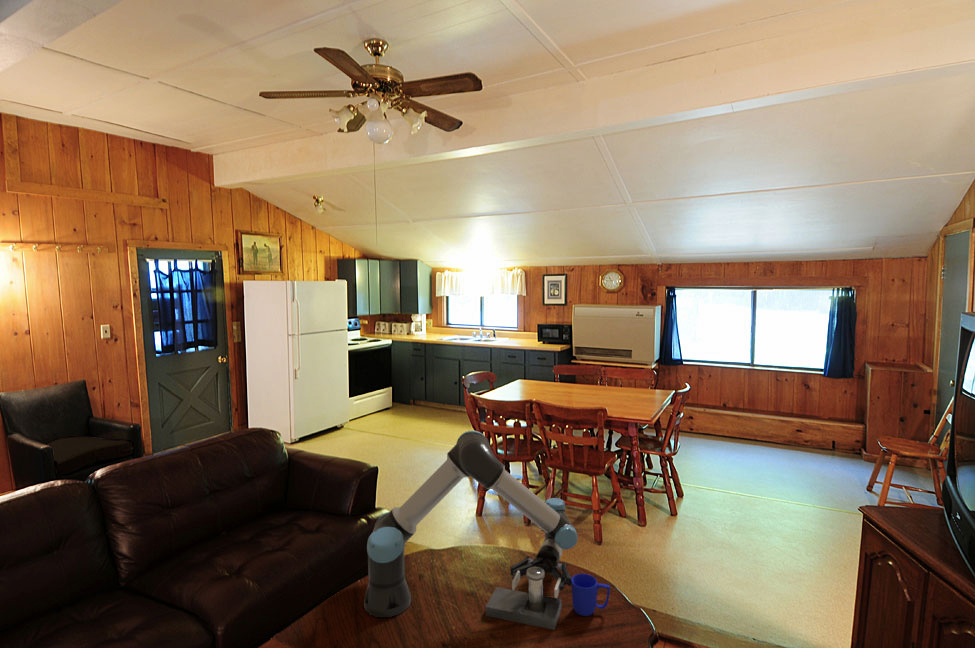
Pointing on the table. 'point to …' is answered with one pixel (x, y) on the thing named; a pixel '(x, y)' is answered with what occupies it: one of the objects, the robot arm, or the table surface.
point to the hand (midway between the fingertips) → (534, 589)
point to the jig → (522, 608)
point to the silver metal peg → (535, 588)
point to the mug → (586, 594)
